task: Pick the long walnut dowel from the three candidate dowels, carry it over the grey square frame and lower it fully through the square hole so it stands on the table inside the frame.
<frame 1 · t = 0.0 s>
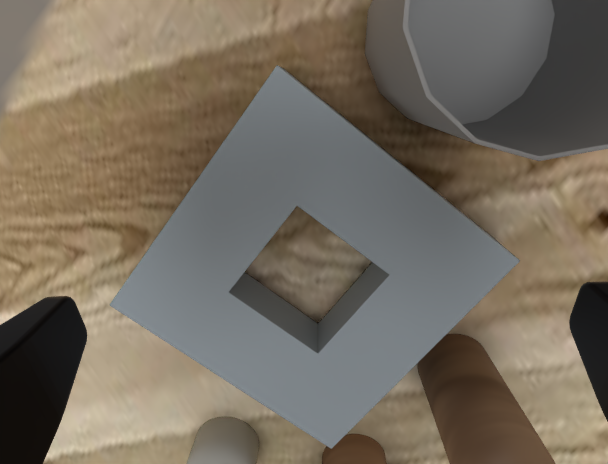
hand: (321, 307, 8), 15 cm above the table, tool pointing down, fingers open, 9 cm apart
grey square frame: (309, 260, 24), on the table
medium dowel: (353, 459, 29), on the table
short dowel: (227, 442, 28), on the table
cup: (454, 35, 21), on the table
long dowel: (452, 364, 26), on the table
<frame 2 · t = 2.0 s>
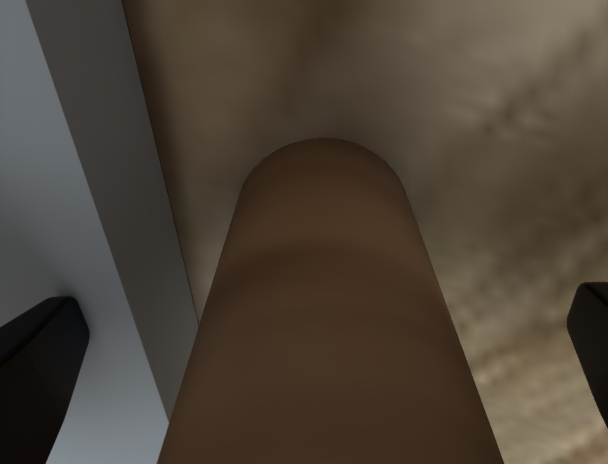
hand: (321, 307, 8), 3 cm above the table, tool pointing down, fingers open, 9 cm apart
long dowel: (322, 219, 11), on the table
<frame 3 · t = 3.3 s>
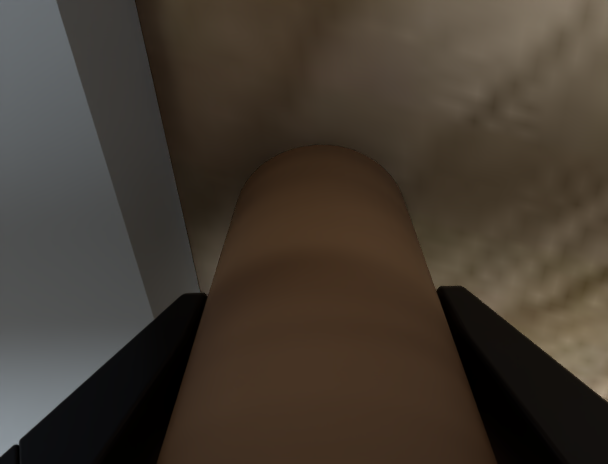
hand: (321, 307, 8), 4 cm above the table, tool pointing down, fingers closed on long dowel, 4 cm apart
long dowel: (320, 225, 11), point 1 cm above the table, touching gripper
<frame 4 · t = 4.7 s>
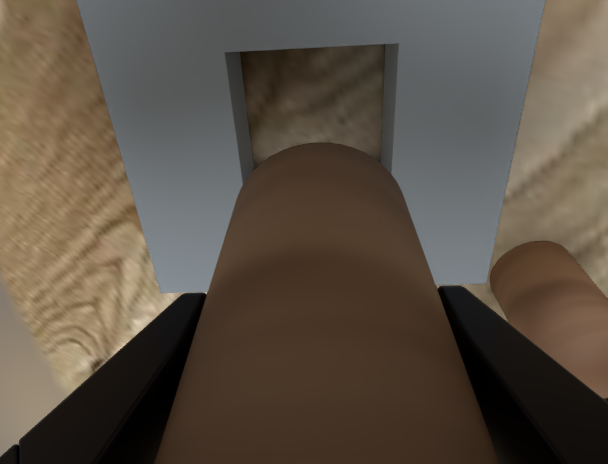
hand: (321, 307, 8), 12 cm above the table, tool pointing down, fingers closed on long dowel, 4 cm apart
grey square frame: (314, 106, 18), on the table
medium dowel: (530, 274, 23), on the table
long dowel: (320, 224, 10), point 9 cm above the table, touching gripper
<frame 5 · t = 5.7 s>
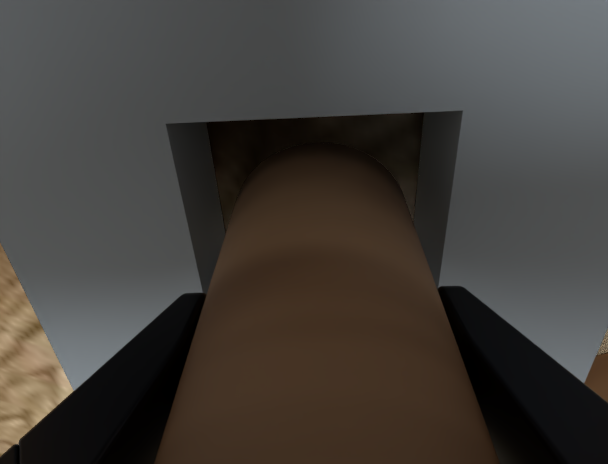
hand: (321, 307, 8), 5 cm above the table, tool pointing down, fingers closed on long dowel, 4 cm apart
grey square frame: (316, 180, 12), on the table
medium dowel: (607, 388, 17), on the table
long dowel: (319, 223, 10), point 2 cm above the table, touching gripper
when the fingers open (4 cm above the table, at t = 6.5 s): long dowel drops 1 cm, resting in grey square frame.
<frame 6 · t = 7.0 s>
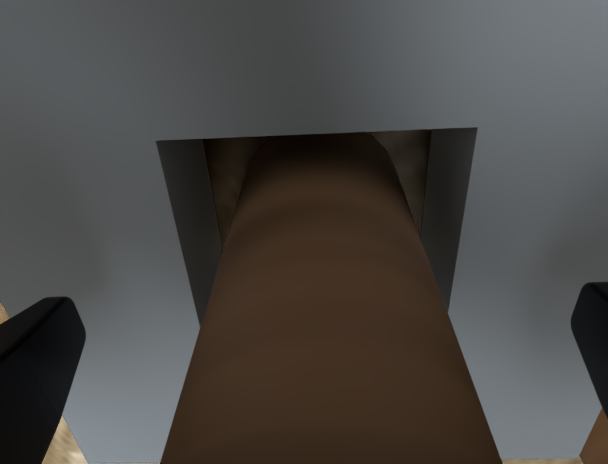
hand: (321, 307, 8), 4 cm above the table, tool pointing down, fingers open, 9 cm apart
grey square frame: (318, 195, 12), on the table
long dowel: (320, 195, 12), resting in grey square frame
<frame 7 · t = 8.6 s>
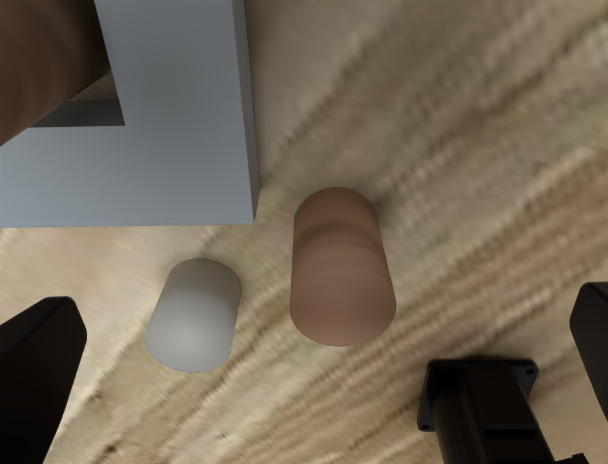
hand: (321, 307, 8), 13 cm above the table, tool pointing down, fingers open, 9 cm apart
grey square frame: (63, 29, 17), on the table
medium dowel: (335, 224, 22), on the table
short dowel: (204, 288, 24), on the table
long dowel: (65, 30, 17), resting in grey square frame
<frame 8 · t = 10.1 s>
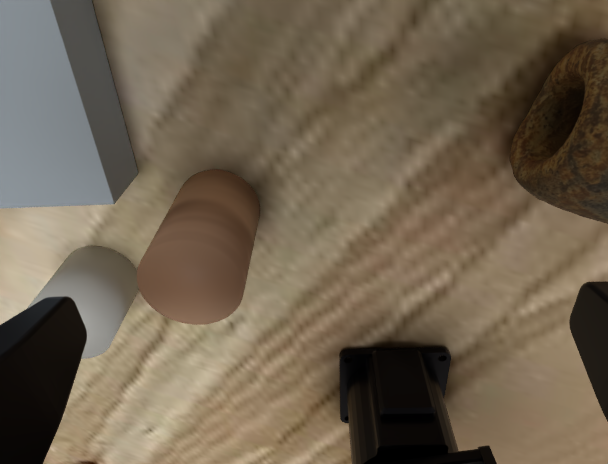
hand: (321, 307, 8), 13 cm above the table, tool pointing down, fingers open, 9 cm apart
medium dowel: (219, 207, 22), on the table
short dowel: (102, 276, 24), on the table
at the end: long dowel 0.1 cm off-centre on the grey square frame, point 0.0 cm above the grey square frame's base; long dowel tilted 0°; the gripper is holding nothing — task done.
